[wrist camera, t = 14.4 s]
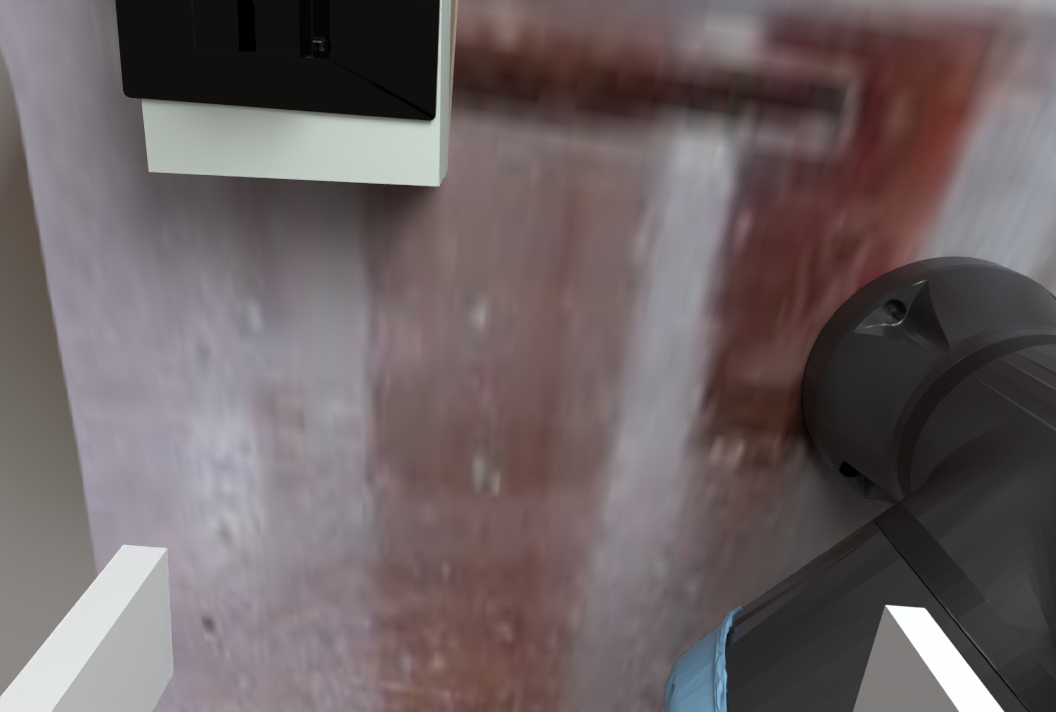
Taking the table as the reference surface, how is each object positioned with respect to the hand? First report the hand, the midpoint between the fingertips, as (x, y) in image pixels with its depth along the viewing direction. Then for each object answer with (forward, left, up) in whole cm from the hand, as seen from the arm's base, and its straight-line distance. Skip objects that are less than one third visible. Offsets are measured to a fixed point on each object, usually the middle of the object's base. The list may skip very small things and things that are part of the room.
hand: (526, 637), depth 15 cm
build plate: (+10, -11, -22) cm, 27 cm away
